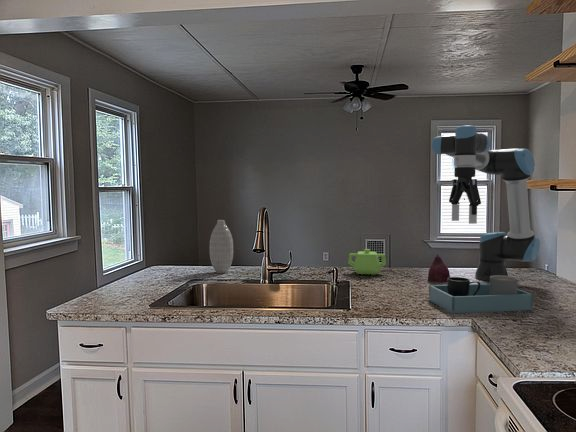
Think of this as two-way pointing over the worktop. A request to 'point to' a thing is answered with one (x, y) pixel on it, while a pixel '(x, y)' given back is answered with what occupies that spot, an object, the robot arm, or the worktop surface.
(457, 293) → the mug
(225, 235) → the vase
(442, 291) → the tote
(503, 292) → the coffee mug
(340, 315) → the worktop surface
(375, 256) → the green rounded pot
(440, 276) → the vegetable
